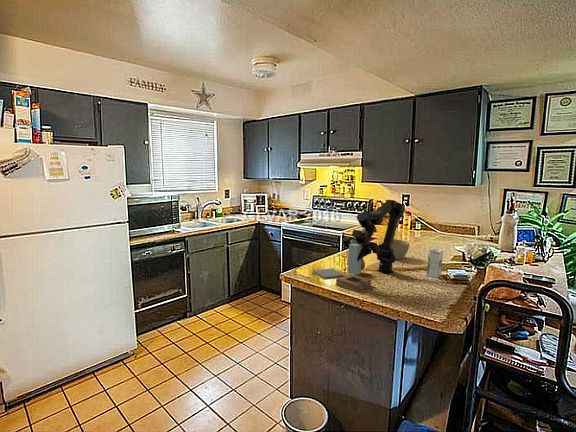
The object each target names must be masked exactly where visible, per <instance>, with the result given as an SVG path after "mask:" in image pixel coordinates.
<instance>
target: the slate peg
mask: <svg viewBox="0 0 576 432" xmlns="http://www.w3.org/2000/svg"><path fill="white" fill-rule="evenodd" d="M361 250H362V245H360V244H355V243H353V244H349V248H348V259H347V260H348V261H347V273H348V274H352V275H356V276H358V275H359V274H361V271H362V270H361V259H360V260H359V261H357V258H358V256H359V254H360V252H361Z"/></svg>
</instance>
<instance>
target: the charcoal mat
mask: <svg viewBox="0 0 576 432" xmlns="http://www.w3.org/2000/svg"><path fill="white" fill-rule="evenodd" d="M312 272H313V274H315V275H317V276H318V277H320V278H322V279H323V280H326V279H327V280H328V279H338V278H341V277H343V276H345V274H343V273H342V272H340V271H338V270H336V269H334V268H332V267H331V268H326V269H325V268H324V269H316V270H313V271H312Z"/></svg>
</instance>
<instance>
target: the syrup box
mask: <svg viewBox="0 0 576 432" xmlns="http://www.w3.org/2000/svg"><path fill="white" fill-rule="evenodd" d="M443 256H444V250H443V249H439V248H431V249H429V251H428V259H427V267H426V268H427V269H426V276H427V277H429V278H435V279H438V278H440V277H441V273H442V268H443V267H442V266H443Z"/></svg>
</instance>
